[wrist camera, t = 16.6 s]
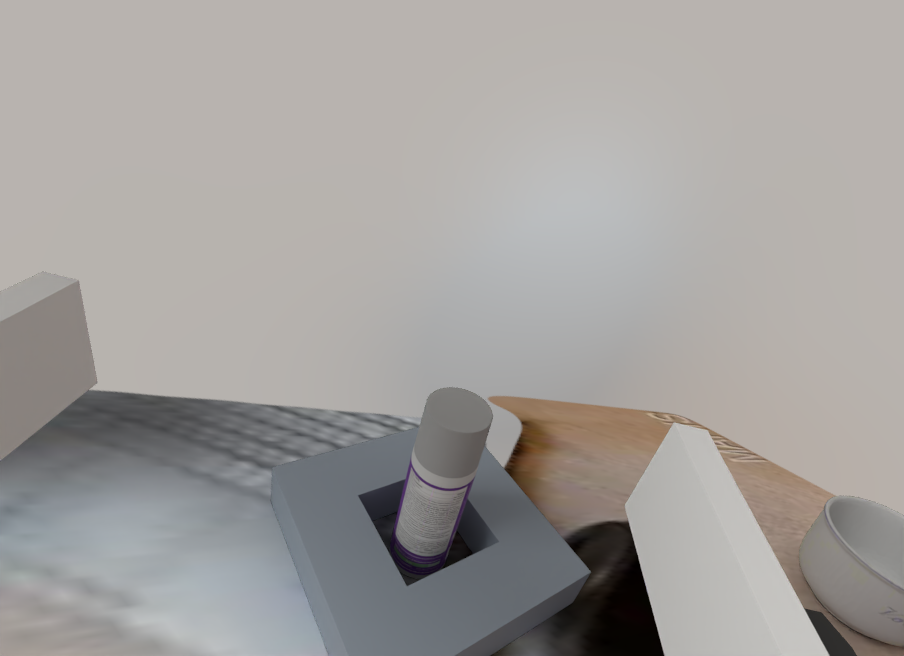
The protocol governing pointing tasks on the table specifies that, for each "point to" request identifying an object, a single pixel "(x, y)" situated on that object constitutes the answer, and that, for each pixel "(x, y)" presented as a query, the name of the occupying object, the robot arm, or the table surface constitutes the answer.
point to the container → (439, 479)
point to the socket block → (436, 596)
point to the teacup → (858, 566)
